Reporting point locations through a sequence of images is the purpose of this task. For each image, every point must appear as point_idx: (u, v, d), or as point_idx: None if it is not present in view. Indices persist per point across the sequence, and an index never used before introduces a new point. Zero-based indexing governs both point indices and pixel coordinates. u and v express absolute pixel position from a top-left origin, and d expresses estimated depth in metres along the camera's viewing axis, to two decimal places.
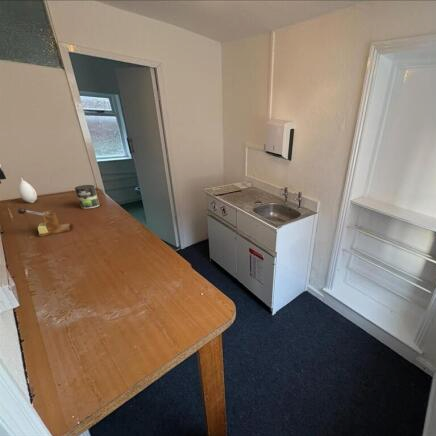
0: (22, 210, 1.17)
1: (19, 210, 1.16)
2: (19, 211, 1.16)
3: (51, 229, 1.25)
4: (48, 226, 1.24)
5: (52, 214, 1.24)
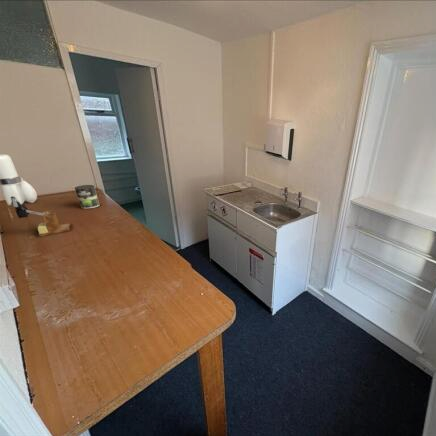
0: None
1: None
2: None
3: (51, 229, 1.25)
4: (48, 226, 1.24)
5: (52, 214, 1.24)
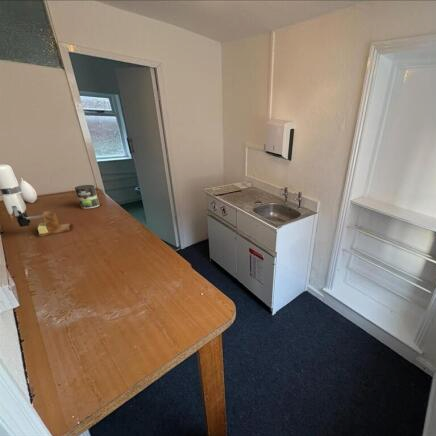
0: None
1: None
2: None
3: (51, 229, 1.25)
4: (48, 226, 1.24)
5: (52, 214, 1.24)
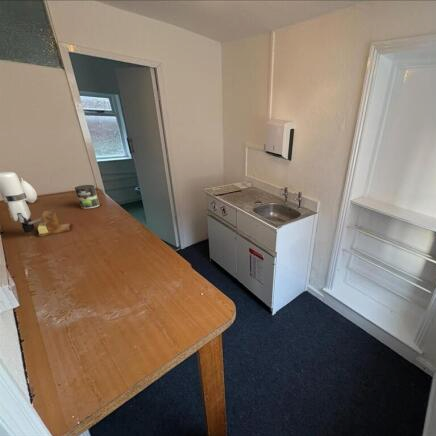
0: None
1: None
2: None
3: (51, 229, 1.25)
4: (48, 226, 1.24)
5: (52, 214, 1.24)
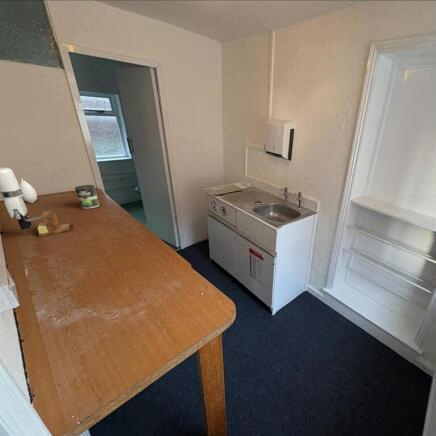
0: None
1: None
2: None
3: (51, 229, 1.25)
4: (48, 226, 1.24)
5: (52, 214, 1.24)
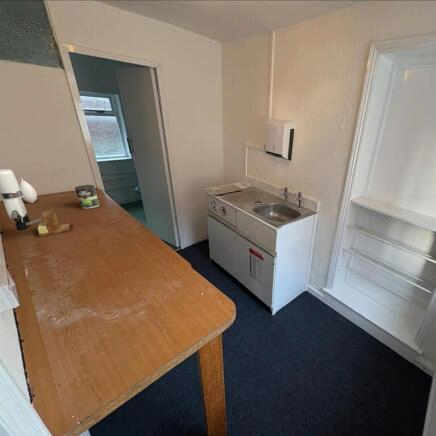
0: None
1: None
2: None
3: (51, 229, 1.25)
4: (48, 226, 1.24)
5: (52, 214, 1.24)
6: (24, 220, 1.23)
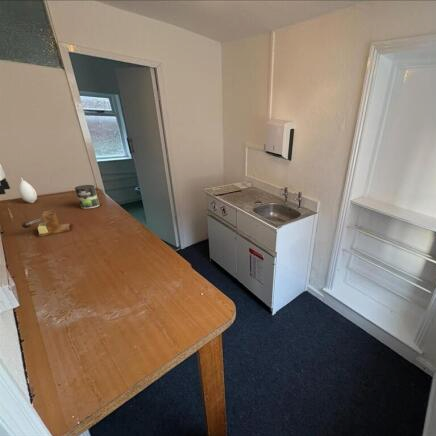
0: (24, 224, 1.19)
1: (23, 225, 1.19)
2: (24, 226, 1.19)
3: (51, 229, 1.25)
4: (48, 226, 1.24)
5: (52, 214, 1.24)
6: (3, 186, 1.14)
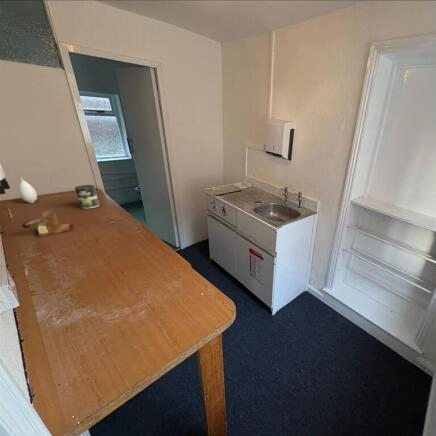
0: (24, 224, 1.19)
1: (23, 225, 1.19)
2: (24, 226, 1.19)
3: (51, 229, 1.25)
4: (48, 226, 1.24)
5: (52, 214, 1.24)
6: (3, 185, 1.14)
